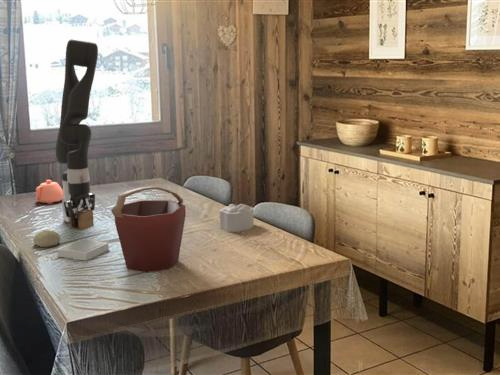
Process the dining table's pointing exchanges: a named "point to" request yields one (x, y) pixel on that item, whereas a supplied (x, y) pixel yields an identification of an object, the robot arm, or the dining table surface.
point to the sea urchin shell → (46, 238)
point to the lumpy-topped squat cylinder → (236, 218)
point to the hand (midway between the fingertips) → (81, 225)
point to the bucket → (149, 231)
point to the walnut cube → (83, 219)
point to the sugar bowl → (49, 192)
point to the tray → (83, 249)
